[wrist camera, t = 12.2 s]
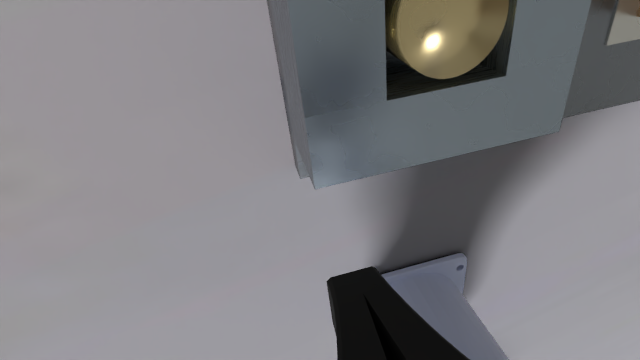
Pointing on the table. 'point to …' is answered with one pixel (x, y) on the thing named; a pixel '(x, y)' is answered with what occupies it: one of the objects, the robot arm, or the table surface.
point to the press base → (442, 83)
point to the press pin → (443, 33)
